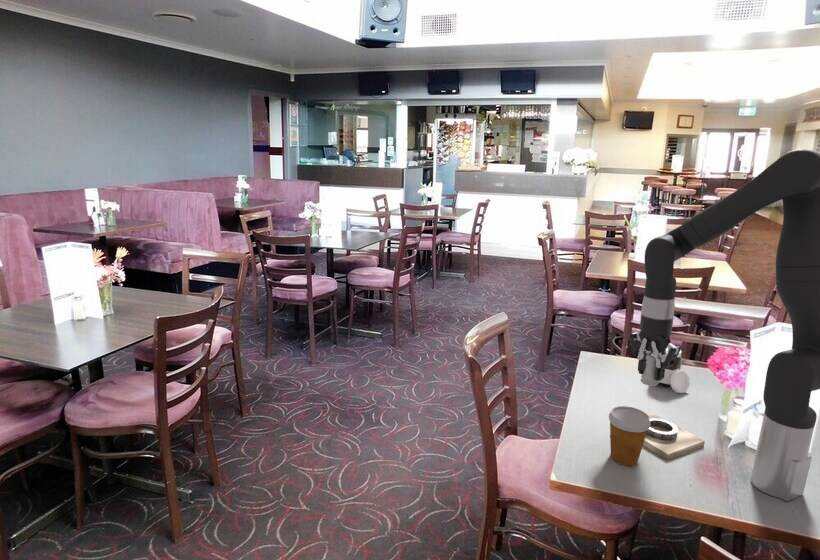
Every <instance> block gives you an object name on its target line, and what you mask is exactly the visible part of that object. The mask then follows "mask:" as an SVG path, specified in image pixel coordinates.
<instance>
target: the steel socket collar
mask: <svg viewBox="0 0 820 560" xmlns="http://www.w3.org/2000/svg"><path fill="white" fill-rule="evenodd" d="M663 419H664V418H663ZM663 419H659V418H649V420H650V422H651V425H650V427H649V429H648V430H647V433H646V434H647V435H649V436H650V437H652V438H655V439H659V440H664V441H671V440H674V439H676V438H677V434H678V428H677V427H676V426H677V425H676V424H675V423H673V422H671V421H669V420H667V419H665V420H663ZM652 426H656V427H662V428H665V429H667V430H669V431H670V432H661V431H658V430H655V429H653V428H651V427H652Z"/></svg>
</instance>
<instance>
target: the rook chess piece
mask: <svg viewBox="0 0 820 560" xmlns="http://www.w3.org/2000/svg"><path fill="white" fill-rule="evenodd" d="M645 357H646V360H647V361H646V369H645V371H644V373H643V374H640V382H641V383H642V385H644V386H645V385H646V386H650V387H656V386H658V385H657V384H659V382H658V381H656V380H655V371H656V366H657V365H656V359H655V358H654V354H653V353H652V352H650V353H647V355H646V356H645Z"/></svg>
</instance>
